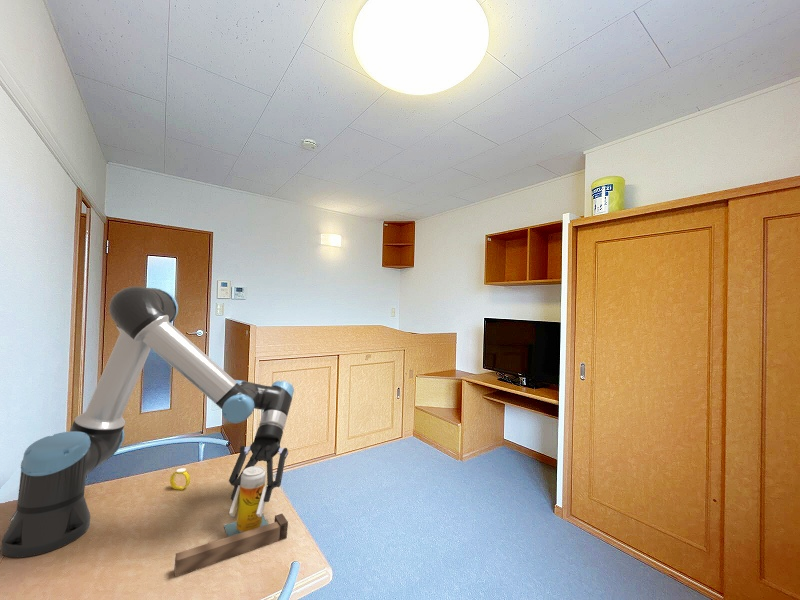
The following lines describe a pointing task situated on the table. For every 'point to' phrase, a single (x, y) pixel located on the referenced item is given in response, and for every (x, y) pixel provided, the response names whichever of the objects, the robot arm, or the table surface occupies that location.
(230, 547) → the brown l-shaped hook tool
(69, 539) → the robot arm
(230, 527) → the pad
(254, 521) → the orange soda can
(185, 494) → the table surface
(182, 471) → the watch
